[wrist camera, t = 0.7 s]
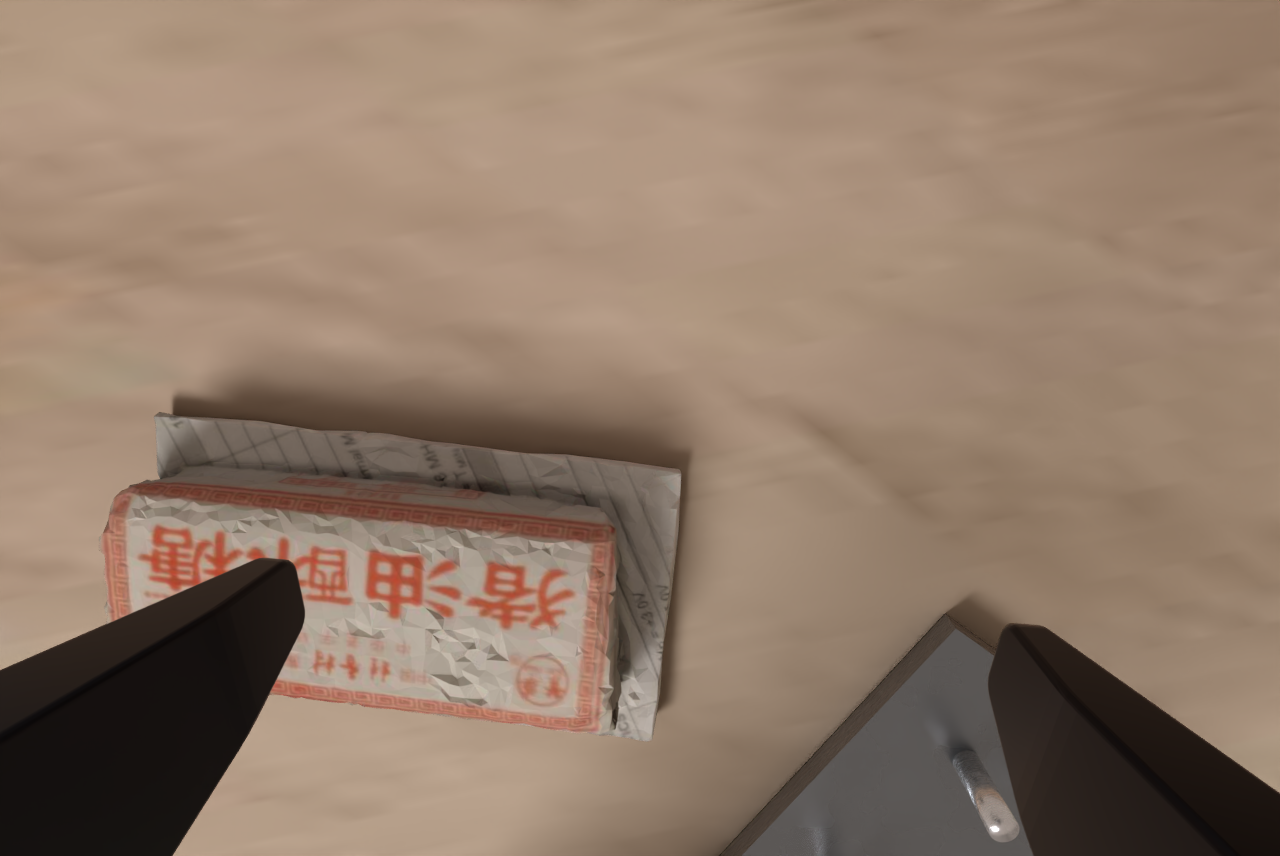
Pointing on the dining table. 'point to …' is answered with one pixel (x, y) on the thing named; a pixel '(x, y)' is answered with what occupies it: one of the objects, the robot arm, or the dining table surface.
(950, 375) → the dining table surface
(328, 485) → the packaged product
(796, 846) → the grey metal peg base
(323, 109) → the dining table surface
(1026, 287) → the dining table surface
